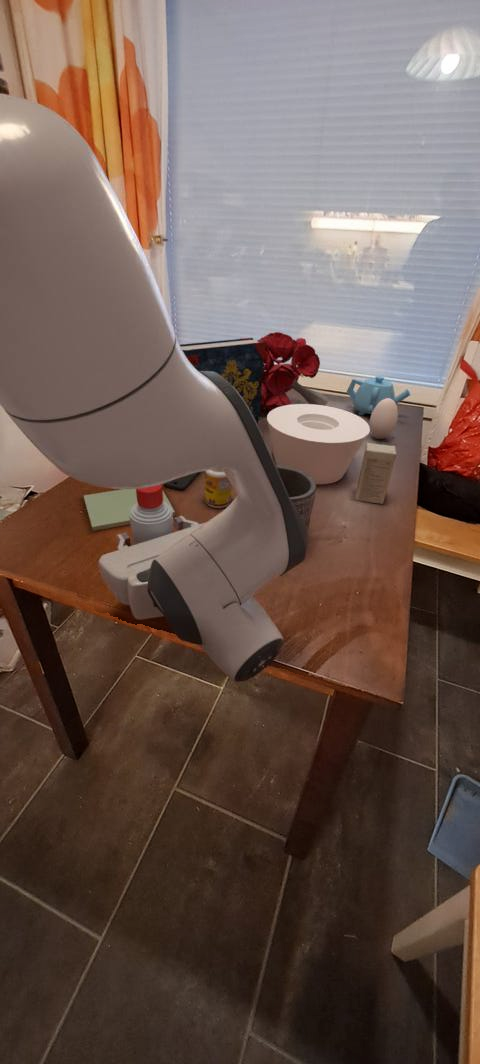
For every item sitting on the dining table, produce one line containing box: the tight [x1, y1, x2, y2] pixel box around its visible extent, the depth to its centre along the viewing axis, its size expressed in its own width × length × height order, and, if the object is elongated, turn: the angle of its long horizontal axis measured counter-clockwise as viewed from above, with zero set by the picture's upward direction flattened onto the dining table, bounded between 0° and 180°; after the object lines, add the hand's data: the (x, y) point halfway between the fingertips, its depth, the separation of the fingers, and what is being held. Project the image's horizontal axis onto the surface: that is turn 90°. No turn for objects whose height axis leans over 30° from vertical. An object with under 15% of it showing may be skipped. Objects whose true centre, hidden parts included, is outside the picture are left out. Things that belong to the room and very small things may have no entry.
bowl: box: [266, 403, 371, 485], centre depth 102 cm, size 24×24×12 cm
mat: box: [83, 489, 176, 532], centre depth 85 cm, size 16×12×1 cm
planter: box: [275, 464, 317, 531], centre depth 76 cm, size 12×12×13 cm
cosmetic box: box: [354, 442, 397, 505], centre depth 91 cm, size 6×4×12 cm
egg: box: [368, 398, 399, 440], centre depth 120 cm, size 7×7×12 cm
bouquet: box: [256, 331, 329, 412], centre depth 133 cm, size 22×24×30 cm
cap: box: [136, 484, 164, 509], centre depth 62 cm, size 4×4×3 cm
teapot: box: [346, 375, 411, 416], centre depth 137 cm, size 20×17×12 cm
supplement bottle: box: [204, 468, 233, 509], centre depth 86 cm, size 6×6×10 cm
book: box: [179, 337, 266, 425], centre depth 108 cm, size 25×7×25 cm, turn 126°
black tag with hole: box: [163, 472, 201, 491], centre depth 96 cm, size 5×1×10 cm
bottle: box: [129, 502, 174, 546], centre depth 66 cm, size 6×6×16 cm
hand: (150, 528), depth 66 cm, fingers open, 8 cm apart
